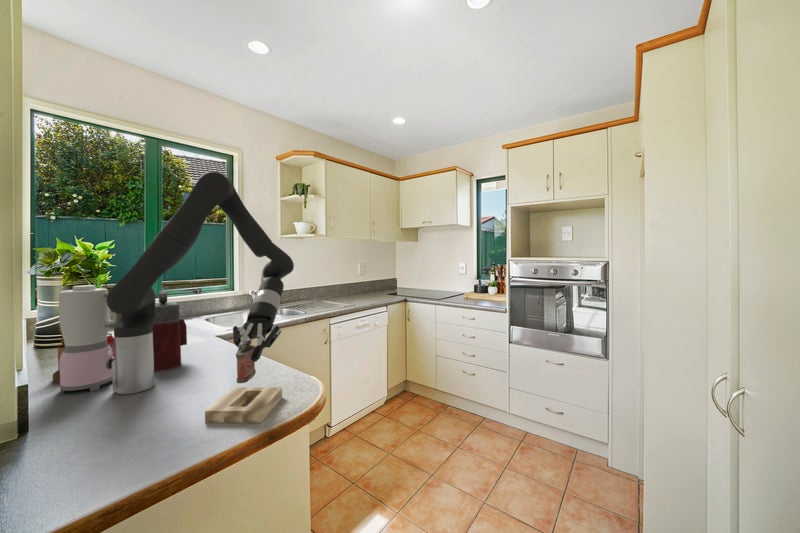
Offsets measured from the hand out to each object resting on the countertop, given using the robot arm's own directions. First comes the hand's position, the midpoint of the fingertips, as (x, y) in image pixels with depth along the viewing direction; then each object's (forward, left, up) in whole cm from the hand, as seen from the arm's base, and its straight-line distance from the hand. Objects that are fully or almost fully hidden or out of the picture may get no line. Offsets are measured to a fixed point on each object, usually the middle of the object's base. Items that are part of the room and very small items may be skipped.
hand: (246, 360), depth 87 cm
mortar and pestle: (-71, +20, -13) cm, 75 cm away
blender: (-56, +14, -13) cm, 59 cm away
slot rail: (0, -1, -13) cm, 13 cm away
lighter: (0, -1, -5) cm, 5 cm away
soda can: (-69, +31, -13) cm, 77 cm away
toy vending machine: (-46, +33, -13) cm, 58 cm away
